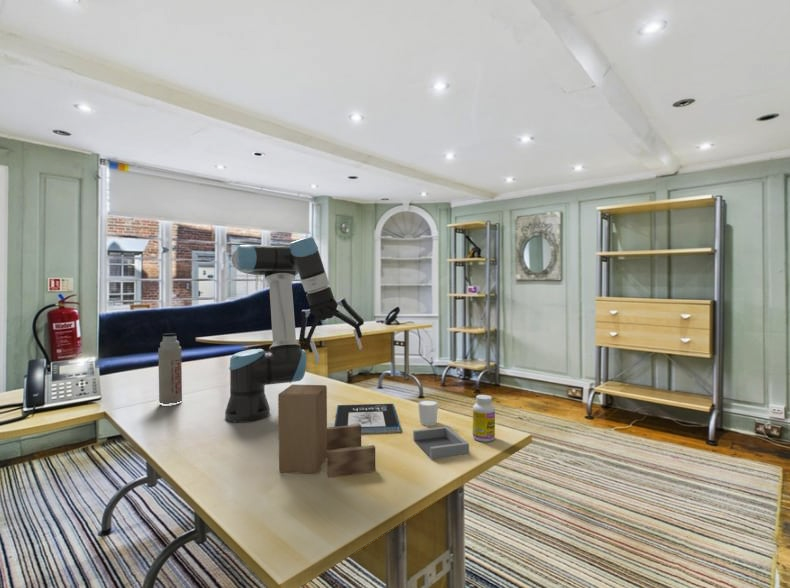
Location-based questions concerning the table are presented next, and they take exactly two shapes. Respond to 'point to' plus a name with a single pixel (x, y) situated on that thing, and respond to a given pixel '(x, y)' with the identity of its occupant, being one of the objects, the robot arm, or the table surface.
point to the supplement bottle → (483, 419)
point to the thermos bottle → (170, 370)
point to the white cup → (428, 412)
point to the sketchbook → (369, 417)
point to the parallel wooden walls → (348, 452)
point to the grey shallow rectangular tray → (440, 442)
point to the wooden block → (302, 428)
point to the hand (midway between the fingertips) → (339, 354)
